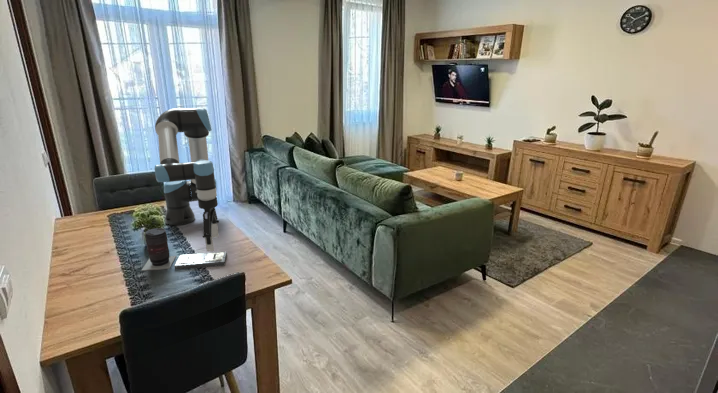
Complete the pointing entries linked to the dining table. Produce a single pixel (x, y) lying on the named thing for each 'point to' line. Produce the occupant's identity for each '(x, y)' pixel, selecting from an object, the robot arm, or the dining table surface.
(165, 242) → the camera lens
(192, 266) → the psu chassis
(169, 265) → the rubber mat
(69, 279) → the dining table surface
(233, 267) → the dining table surface
